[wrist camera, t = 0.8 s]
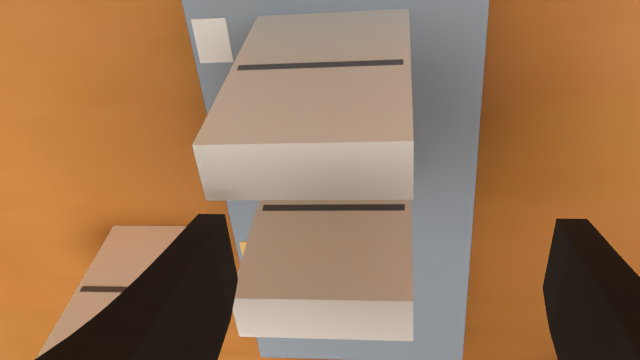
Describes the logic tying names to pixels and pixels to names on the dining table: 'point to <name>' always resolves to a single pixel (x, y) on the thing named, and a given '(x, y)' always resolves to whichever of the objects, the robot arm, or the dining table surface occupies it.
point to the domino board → (429, 157)
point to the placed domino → (111, 274)
